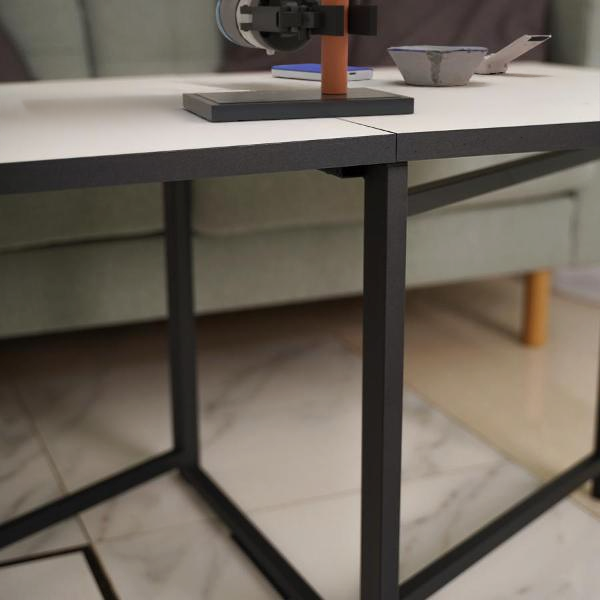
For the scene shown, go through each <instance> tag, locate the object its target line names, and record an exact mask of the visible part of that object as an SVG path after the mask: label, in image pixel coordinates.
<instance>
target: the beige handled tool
mask: <svg viewBox="0 0 600 600" xmlns="http://www.w3.org/2000/svg"><path fill="white" fill-rule="evenodd" d="M550 38H552V35H551V34H549V35H545V34H544V35H543V34H542V35H541V34H540V35H539V34H534V35H528V34H523V36H520V37H519V38H517V39H515V40H514V41H513V42H510V44H508V45H507V46H505V47H503V48H502V49H500V50H499V51H497V52H495V53H490V54H487V53H486V55H485V56H484V58H483V60H482V61H481V63H480V65H479V66H478V68H477V69H476V71H475V72H474V74H478V75H479V74H481V75H491V74H490V73H496V74H499V73H498V72H505V73H507V71H508V70H509V69H508V68H509V65H510V62H512V61H514V60H515V59H517V58H518V57H520V56H521V55H523V54H525V53H527V52H529V51H530V50H532V49H533V48H535V47H537V46H538V45H540V44H542V43H543V42H546V41H547V40H548V39H550Z"/></svg>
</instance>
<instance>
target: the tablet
mask: <svg viewBox="0 0 600 600" xmlns="http://www.w3.org/2000/svg"><path fill="white" fill-rule="evenodd" d="M183 107H184V108H186V109H188V110H190V111H192V112H194V113H196V114H198V115H197V116H199V115H200V116H199V117H201V116H202V117H201V118H203V117H204V118H203V119H205V118H206V119H205V120H207V121H209V122H211V123H219V122H218V121H229V122H239V121H238V120H252V121H263V120H262V119H276V120H290V119H289V118H299V119H306V118H305V117H322V118H341V117H345V118H346V117H365V116H387V115H388V116H390V115H412V114H414V113H415V97H411V96H407V95H402V94H397V93H394V92H393V93H392V92H388V91H384V90H383V91H382V90H379V89H373V88H369V87H347V93H346V94H323V93H321V88H307V89H306V88H305V89H277V90H276V89H275V90H247V91H246V90H245V91H244V90H243V91H213V92H212V91H211V92H184V93H182V108H183ZM184 108H183V109H184ZM186 109H185V110H186ZM188 110H187V111H188ZM190 111H189V112H190ZM192 112H191V113H192ZM194 113H193V114H194ZM196 114H195V115H196Z"/></svg>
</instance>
